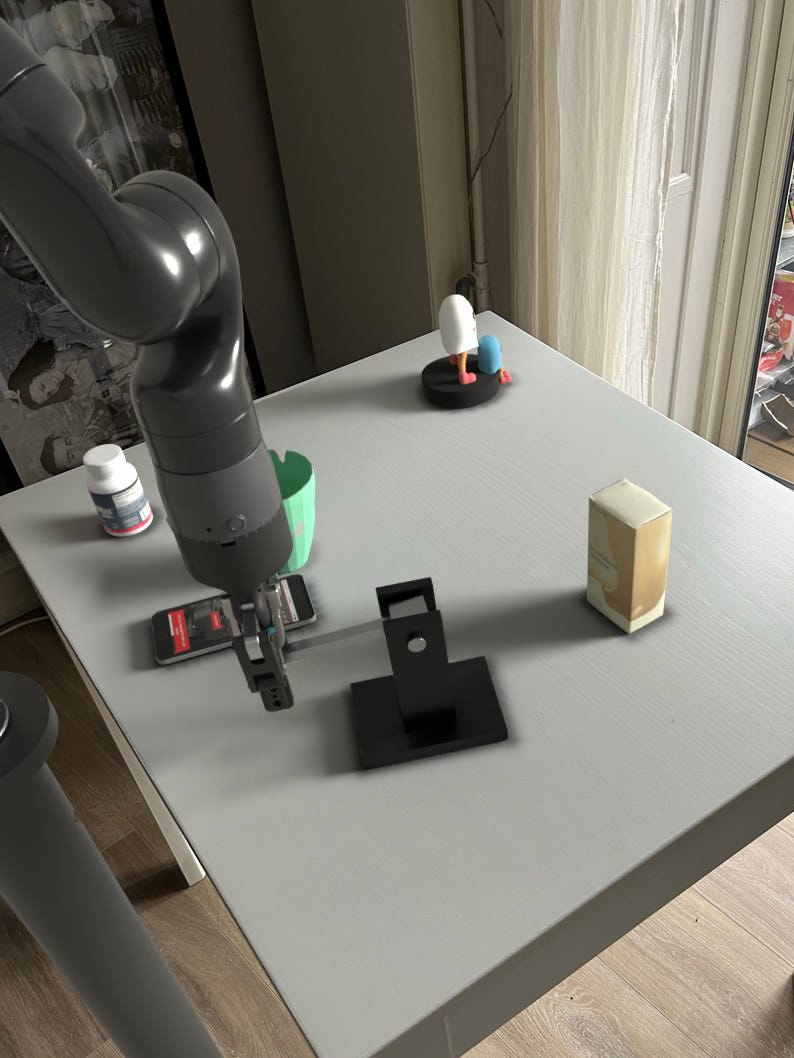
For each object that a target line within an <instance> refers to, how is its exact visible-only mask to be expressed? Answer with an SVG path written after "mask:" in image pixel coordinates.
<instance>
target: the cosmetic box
mask: <svg viewBox="0 0 794 1058" xmlns="http://www.w3.org/2000/svg"><path fill="white" fill-rule="evenodd" d="M672 520H673V508H672V507H671V506H669V505H667V504H665V503H664V502H663V501H661V500H660V499H658V498H657V497H656V496H654V495H653V494H651V493H650V492H649V491H647V490H645V489H643V488H642V487H640V486H639V485H637V484H636V483H635V482H633V481H631V480H630V479H629V478H627V477H622V478H620V479H619V480H616V481H615V482H611V483H610V484H609V485H607V486H604V487H602V488H600V489H598V490H596V491H595V492H593V493H591V494H589V495H588V522H587V523H588V524H587V525H588V527H587V573H586V574H587V575H586V578H587V579H586V601H588V602H589V603H590V604H591V605H592V606H593V607H595V608H596V609H597V610H598V611H599V612H600V613H602V614H603V615H604V616H605V617H606V618H608V620H610V621H611V622H613V623H614V624H615V625H617V626H618V627H619V628H620V629H622V630H623V631H624V632H626V634H632V633H634V632H635V631H637V630H639V629H642V628H643V627H645V626H646V625H648V624H650V623H652V622H653V621H655V620H657V619H658V618H660V617H662V616H663V615H664V606H665V594H666V585H667V574H668V563H669V554H670V553H669V552H670V542H671V541H670V540H671V532H672V522H673V521H672Z"/></svg>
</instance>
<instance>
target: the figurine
mask: <svg viewBox="0 0 794 1058" xmlns="http://www.w3.org/2000/svg"><path fill="white" fill-rule="evenodd" d="M476 323H477V322H476V315H475V312H474V310H473V307H472V305H471V304H470V301H468V299H466V298H465V297H464V296H463V295H461V294H450V295H449V296H447V297H445V298H444V299H443V301H442V302H441V305H440V307H439V313H438V327H439V332H440V337H441V342H442V346H443V348H444V351H445V353H446V354H448V355H447V356H443V357H440V358H438V359H435V360H433V361H431V362H430V363H428V364H426V365H425V366H424V367H423V368H422V371H421V374H420V379H421V385H422V392H423V397H424V398H425V400H426V401H427V402H429V403H430V404H431V405H433V406H435V407H439V408H442V409H449V410H452V409H454V410H457V409H458V410H459V409H466V408H472V407H476V406H479V405H481V404H485V403H487V402H488V401H491V400H493V398H495V397H496V396H497V395H498V393H499V390H500V385H504V384H506V383H510V382H512V381H513V378H512V376H511V375H510V373H509V371H507V370H504V368H505V367H504V364H503V363H502V362H503V361H502V346H501V344H500V342H499V340H498V338H497V337H496V336H494V335H491V334H486V335H483V336H481V337H480V338H479V340H478V339H477V327H476V326H477V324H476ZM474 348H476V351H477V354H475V353H468V351H469V350H471V349H474Z"/></svg>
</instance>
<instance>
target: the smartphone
mask: <svg viewBox="0 0 794 1058" xmlns="http://www.w3.org/2000/svg"><path fill="white" fill-rule="evenodd" d="M278 580H279V584H280V591H281V597H282V600H281V601H280V602H281V606H282V608H280V609H281V613H280V615H281V619H282V622H283V626H284V629H285V632H286V631H289V630H293V629H297V628H300V627H305V626H308V625H310V624H312V623H314V622H315V621H316V620H317V615H316V611H315V607H314V605H313V602H312V600H311V596H310V593H309V590H308V587H307V583H306V580H305V579H304V576H303V575H302V574H299V573H293V574H290V575H286V576H283V577H278ZM150 627H151V632H152V640H153V646H154V647H153V648H154V653H155V659H156V661H157V663H158V664H159V665H169V664H174V663H177V662H180V661H183V660H187V659H191V658H195V657H198V656H201V655H205V654H208V653H212V652H216V651H219V650H222V649H226V648H230V647H232V642H233V637H234V636H233V632H232V628H231V624H230V620H229V619H228V618H227V617H226V616H225V614H224V611H223V607H222V603H221V596H220V594H217V595H214V596H210V597H206V598H203V599H198V600H194V601H191V602H187V603H185V604H181V605H177V606H173V607H170V608H166V609H162V610H159V611H158V610H157V611H156V612H154V613H153V614H151V616H150ZM241 628H242V627H241ZM242 632H243V635H244V631H243V628H242Z"/></svg>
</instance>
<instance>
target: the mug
mask: <svg viewBox="0 0 794 1058" xmlns="http://www.w3.org/2000/svg"><path fill="white" fill-rule="evenodd" d="M267 449H268V448H267ZM268 451H269V453H270V456H271V459H272V462H273V465H274V468H275V472H276V476H277V480H278V484H279V488H280V492H281V496H282V500H283V504H284V508H285V512H286V515H287V519H288V523H289V527H290V531H291V535H292V539H293V550H292V554H291V556H290V558H289V560H288V562H287V563H286V564H285V565H284V567H283V568H282V569H281V570H280V571H278V572H277V573H278V575H283V574H289V573H292V572H295V571H297V570H299V569H300V568H301V567H303V566H304V565H305V564H306V563H307V562H308V559H309V557H310V551H311V547H312V543H313V542H312V541H313V538H314V529H315V520H316V514H315V513H316V512H315V498H316V496H315V495H316V478H315V477H316V476H315V471H314V470H315V469H314V466H313V463H312V462H311V461H310V460H309V459H308V456H306V455H304V454H301V453H299V452H297V451H295V450H287V449H286V450H285V454H284V460H283V461H282V460H281V458H280V456H279V454H278V452H277V451H276V450H275V449H274V448H273V449H272V448H270V449H268ZM165 522H166V523H167V525H168V526H169V529H170V530H171V531H172V533H173V530H172V527H171V524H170V522H169V519H168V516H167V515H166V518H165Z"/></svg>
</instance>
